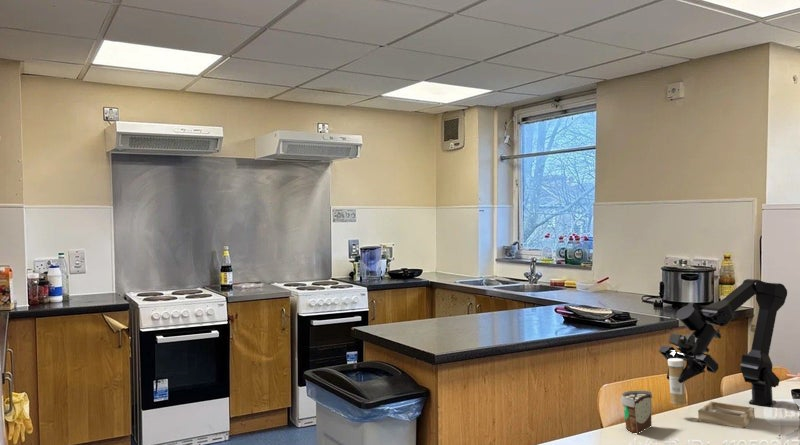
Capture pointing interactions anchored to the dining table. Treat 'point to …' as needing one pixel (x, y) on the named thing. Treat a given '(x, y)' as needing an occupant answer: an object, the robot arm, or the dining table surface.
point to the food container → (637, 410)
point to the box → (726, 414)
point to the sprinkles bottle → (676, 381)
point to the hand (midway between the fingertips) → (673, 380)
